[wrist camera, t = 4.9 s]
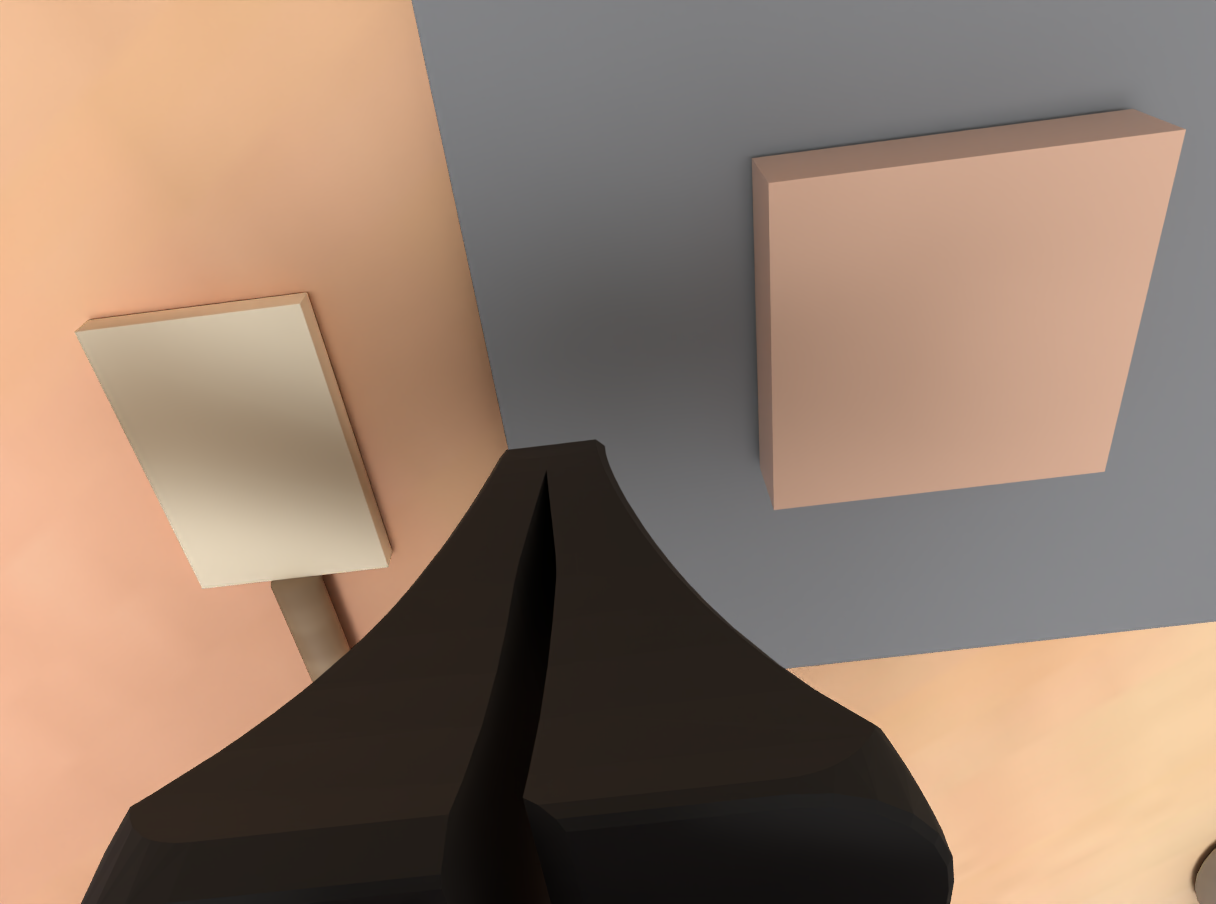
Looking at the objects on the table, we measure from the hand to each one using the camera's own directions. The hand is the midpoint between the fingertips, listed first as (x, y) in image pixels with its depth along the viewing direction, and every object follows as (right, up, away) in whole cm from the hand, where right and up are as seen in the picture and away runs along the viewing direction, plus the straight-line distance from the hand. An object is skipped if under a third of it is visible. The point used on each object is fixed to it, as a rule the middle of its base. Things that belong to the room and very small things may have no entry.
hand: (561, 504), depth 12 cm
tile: (+3, +3, +3) cm, 5 cm away
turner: (-6, -2, +7) cm, 9 cm away
